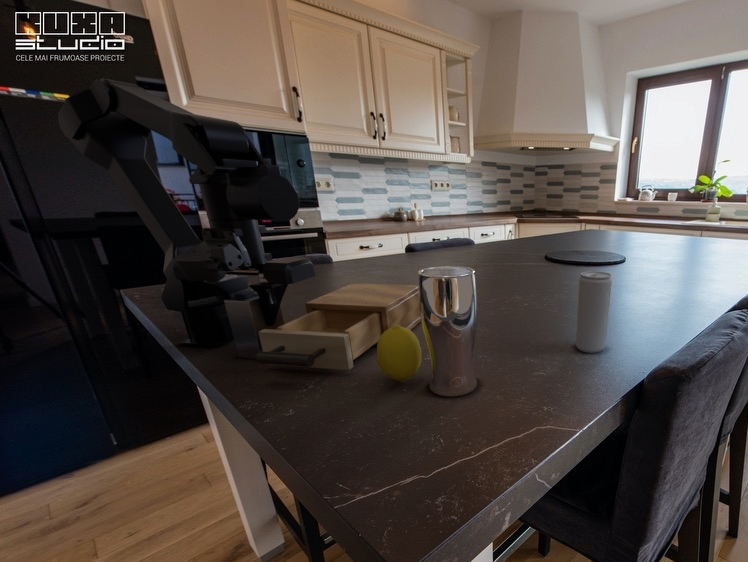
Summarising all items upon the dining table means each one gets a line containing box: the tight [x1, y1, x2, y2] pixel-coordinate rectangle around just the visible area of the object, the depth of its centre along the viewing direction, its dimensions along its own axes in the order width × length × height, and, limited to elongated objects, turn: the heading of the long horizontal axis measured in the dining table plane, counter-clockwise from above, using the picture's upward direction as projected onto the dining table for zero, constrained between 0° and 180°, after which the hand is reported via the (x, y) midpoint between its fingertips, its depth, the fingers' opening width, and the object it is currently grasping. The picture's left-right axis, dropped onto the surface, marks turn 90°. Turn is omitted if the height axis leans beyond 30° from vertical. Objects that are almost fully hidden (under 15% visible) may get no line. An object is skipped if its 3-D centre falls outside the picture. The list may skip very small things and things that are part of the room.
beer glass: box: [417, 265, 479, 398], centre depth 49 cm, size 7×7×15 cm
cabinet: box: [305, 282, 421, 347], centre depth 71 cm, size 15×14×7 cm
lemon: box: [376, 325, 422, 383], centre depth 51 cm, size 6×6×8 cm
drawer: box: [255, 309, 384, 371], centre depth 58 cm, size 18×13×5 cm
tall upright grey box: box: [224, 288, 285, 360], centre depth 61 cm, size 4×6×10 cm, turn 171°
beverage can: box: [575, 270, 613, 354], centre depth 61 cm, size 5×5×12 cm
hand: (258, 324), depth 61 cm, fingers closed on tall upright grey box, 4 cm apart
